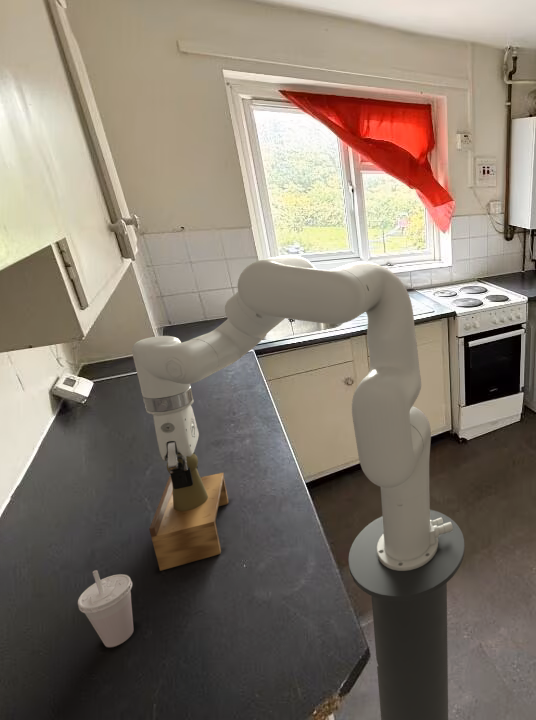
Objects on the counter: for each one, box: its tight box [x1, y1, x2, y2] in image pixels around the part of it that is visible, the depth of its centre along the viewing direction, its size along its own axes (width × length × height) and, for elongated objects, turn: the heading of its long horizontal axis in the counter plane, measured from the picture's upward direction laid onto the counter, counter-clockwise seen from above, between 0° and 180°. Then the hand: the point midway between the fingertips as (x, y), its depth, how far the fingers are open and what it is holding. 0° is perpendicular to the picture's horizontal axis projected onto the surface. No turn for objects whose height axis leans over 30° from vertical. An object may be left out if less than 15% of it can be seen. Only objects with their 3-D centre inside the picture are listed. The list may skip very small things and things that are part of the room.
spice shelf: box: [149, 472, 229, 572], centre depth 90 cm, size 10×18×10 cm, turn 26°
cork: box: [166, 453, 208, 511], centre depth 88 cm, size 6×6×11 cm
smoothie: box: [77, 569, 135, 648], centre depth 68 cm, size 6×6×14 cm
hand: (186, 477), depth 88 cm, fingers closed on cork, 5 cm apart
